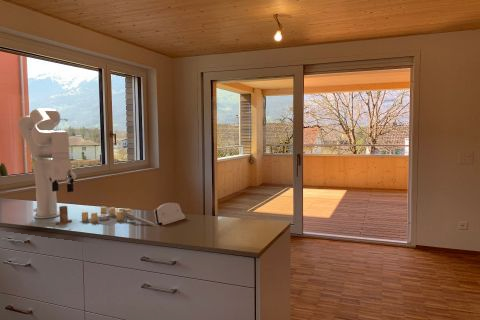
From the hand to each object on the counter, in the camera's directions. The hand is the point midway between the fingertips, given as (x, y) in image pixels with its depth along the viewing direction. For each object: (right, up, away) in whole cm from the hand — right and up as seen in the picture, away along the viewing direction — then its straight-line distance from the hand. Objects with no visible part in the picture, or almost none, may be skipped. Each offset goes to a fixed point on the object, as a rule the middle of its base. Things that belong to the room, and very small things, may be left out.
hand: (62, 191), depth 175 cm
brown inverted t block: (0, -16, +2) cm, 16 cm away
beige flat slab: (+50, -16, +7) cm, 53 cm away
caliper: (+37, -16, +1) cm, 40 cm away
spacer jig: (+19, -16, +8) cm, 26 cm away
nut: (+17, -15, +9) cm, 24 cm away
